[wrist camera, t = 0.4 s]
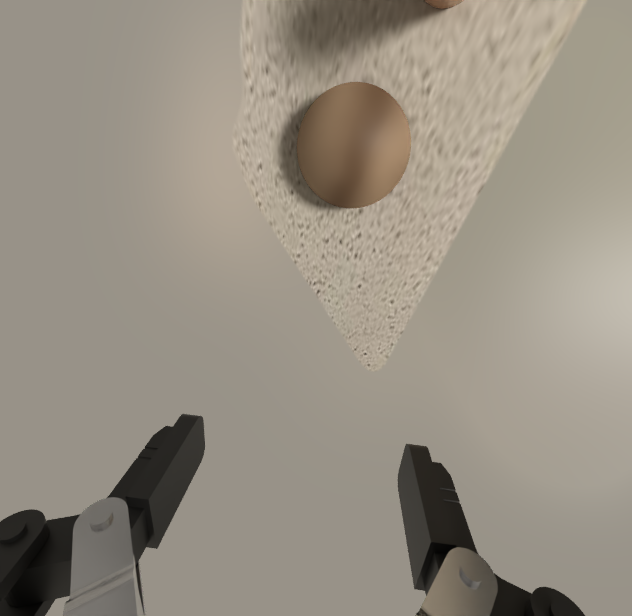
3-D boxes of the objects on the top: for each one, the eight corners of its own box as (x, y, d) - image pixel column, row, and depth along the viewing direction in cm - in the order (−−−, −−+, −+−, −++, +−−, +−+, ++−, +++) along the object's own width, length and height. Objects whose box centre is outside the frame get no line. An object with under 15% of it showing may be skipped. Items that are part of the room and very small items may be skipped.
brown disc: (291, 181, 33) (284, 186, 31) (321, 65, 28) (316, 62, 26) (381, 215, 34) (381, 223, 31) (429, 107, 28) (433, 108, 26)
